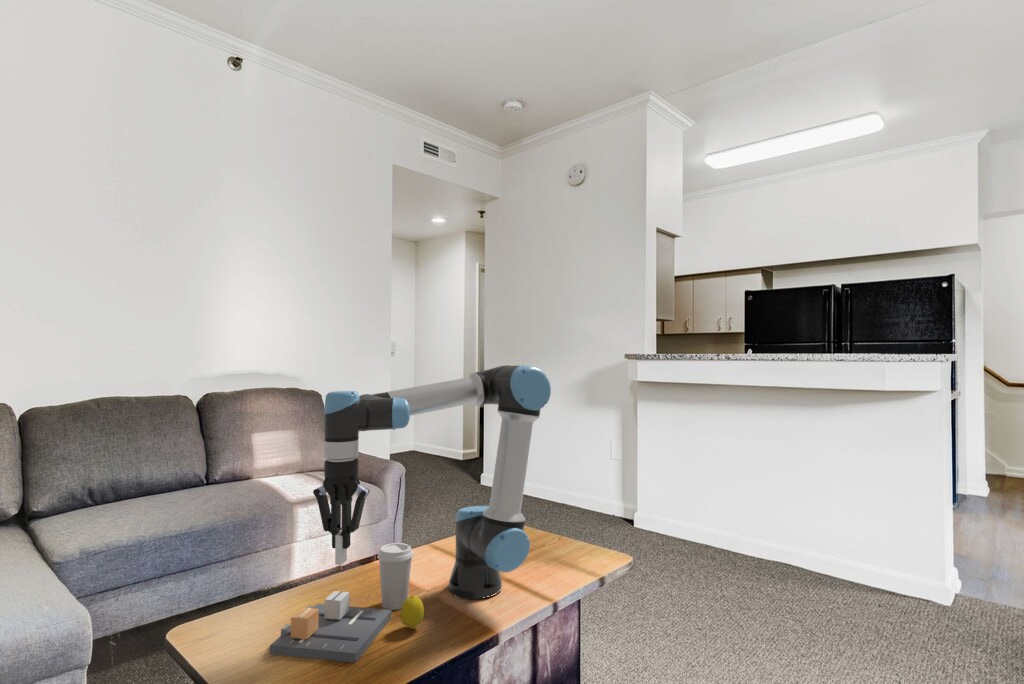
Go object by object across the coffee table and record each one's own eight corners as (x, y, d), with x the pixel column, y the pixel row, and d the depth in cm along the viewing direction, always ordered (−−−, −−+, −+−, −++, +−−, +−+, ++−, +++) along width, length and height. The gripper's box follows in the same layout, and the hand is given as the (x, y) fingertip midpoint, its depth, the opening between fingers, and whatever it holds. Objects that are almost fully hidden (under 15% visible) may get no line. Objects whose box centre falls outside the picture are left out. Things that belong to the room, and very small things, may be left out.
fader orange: (318, 628, 128) (318, 608, 128) (307, 639, 123) (307, 617, 123) (302, 627, 128) (302, 606, 128) (290, 637, 123) (291, 616, 123)
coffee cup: (412, 611, 142) (413, 553, 143) (374, 613, 141) (375, 554, 141) (412, 596, 152) (414, 541, 152) (377, 598, 150) (378, 542, 151)
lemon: (401, 623, 135) (402, 591, 136) (424, 623, 136) (425, 590, 136) (399, 634, 130) (399, 600, 130) (422, 634, 130) (423, 600, 131)
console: (391, 618, 138) (391, 604, 138) (355, 662, 118) (356, 646, 118) (317, 611, 141) (317, 598, 141) (269, 654, 121) (269, 638, 121)
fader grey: (349, 610, 137) (349, 591, 137) (339, 619, 132) (340, 599, 132) (334, 609, 138) (334, 590, 138) (324, 618, 133) (324, 598, 133)
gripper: (374, 456, 128) (374, 557, 128) (323, 455, 130) (322, 555, 130) (361, 462, 121) (361, 570, 120) (306, 460, 123) (305, 567, 122)
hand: (341, 562), depth 125 cm, fingers closed
